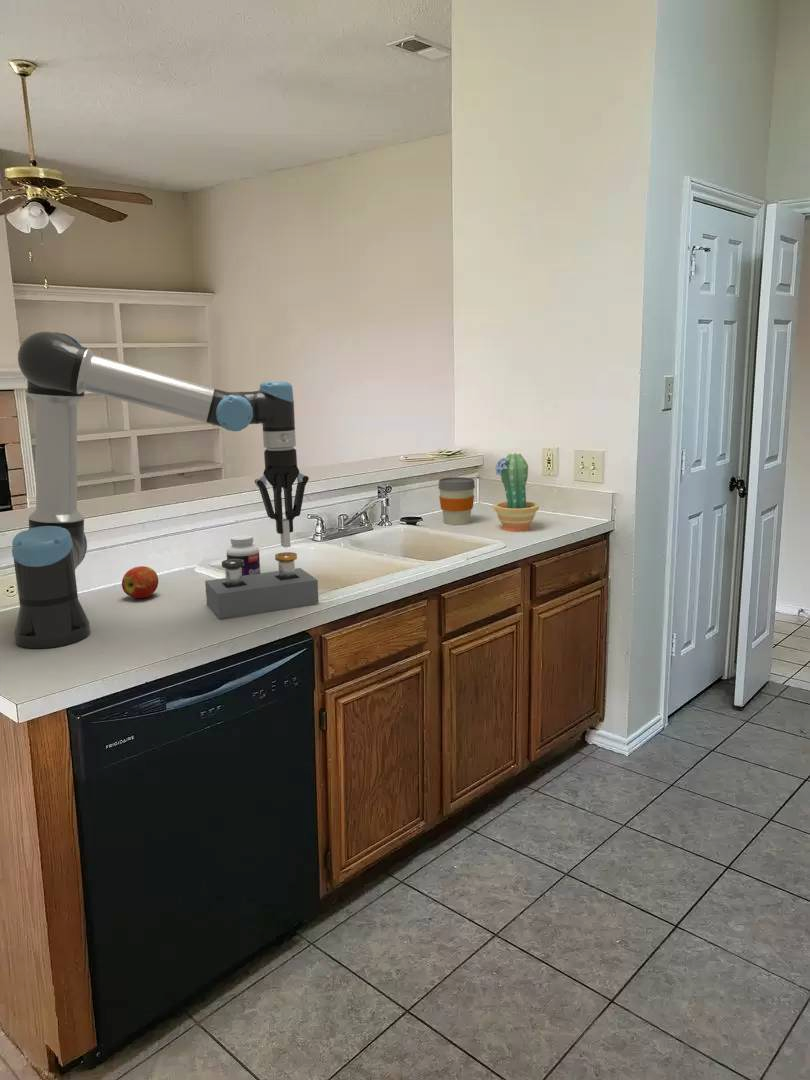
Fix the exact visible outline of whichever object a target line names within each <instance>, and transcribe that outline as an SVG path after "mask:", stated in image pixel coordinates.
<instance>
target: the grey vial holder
mask: <svg viewBox="0 0 810 1080" xmlns="http://www.w3.org/2000/svg"><path fill="white" fill-rule="evenodd" d="M318 581H319V580H318V579H317V578H316V577H314V576H313V575H311V574H310V573H308V572H307V571H305V570H304V569H302V568H301V567H297V568H295V579H288V580H281V581H280V580H279V570H274V571H268V572H267V571H266V572H260V573H259V574H251V575H244V576H242V583H243V586H237V587H230V588H226V577H223V578H215V579H207V580H205V581H204V583H205V584H204V585H205V596H206V605H207V606H208V607H209V609H210V610H211V611H212V613H214V615H215V616H216V617H217V619H219V620H223V619H229V618H231V619H232V618H238V617H243V616H248V615H249V616H250V615H256V614H261V613H262V614H263V613H268V612H270V613H271V612H276V611H282V610H289V609H295V608H301V607H302V608H303V607H309V606H314V604H315V605H317V604H316V603H320V602H319V585H318V584H319V582H318Z"/></svg>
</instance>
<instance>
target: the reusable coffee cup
mask: <svg viewBox="0 0 810 1080" xmlns="http://www.w3.org/2000/svg"><path fill="white" fill-rule="evenodd" d="M475 488H476V485H475V479H474V478H472V477H461V476H460V477H459V476H455V477H453V476H452V477H443V478H439V480H438V489H439V496H438V497H439V503H440V504H439V505H440V509H441V510H442V518H443V523H444V525H450V526H464V525H469V524H470V523H471V515H472V509H473V508H474V501H475V500H474V499H475V495H474V492H475V491H474V490H475Z"/></svg>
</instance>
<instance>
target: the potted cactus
mask: <svg viewBox="0 0 810 1080" xmlns="http://www.w3.org/2000/svg"><path fill="white" fill-rule="evenodd" d="M495 472H496V476H499V477H500V480H501V482H502V484H503V487H504V493H505V498H506V501H500V502H495V503H493V509H494V512H496V514H497V518H498V521H499V522H500V523H501V525H502V530H503V531H506V532H507V531H508V532H525V531H528V530H530V527H529V526H530V525H531V523H532V522H533V520H534V518H535V516H536V513H537V511H539V507H540V506H539V503H536V502H532V501H527V496H526V494H527V492H526V490H527V489H526V485H527V481H528V477H529V465H528V462H527V460H526V459H525V458H524V456H523V455H522V454H521V453H518V454H517V453H513V454H512V453H508V454H507V456H506V457H502V458H501V459H499V460H498V461H497V462H496V465H495Z"/></svg>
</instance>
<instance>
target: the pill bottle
mask: <svg viewBox="0 0 810 1080" xmlns="http://www.w3.org/2000/svg"><path fill="white" fill-rule="evenodd" d="M230 543H231V545H230V546H229V547H228V548H227V549H226V560H228V559H242V560H244V566H242V567H241V568H242V576H244V575H251V574H259V573H261V563H260V550H259V546H257V545H255V544H253V543H254V536H253V535H250V534H241V535H234V536H231V537H230Z"/></svg>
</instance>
